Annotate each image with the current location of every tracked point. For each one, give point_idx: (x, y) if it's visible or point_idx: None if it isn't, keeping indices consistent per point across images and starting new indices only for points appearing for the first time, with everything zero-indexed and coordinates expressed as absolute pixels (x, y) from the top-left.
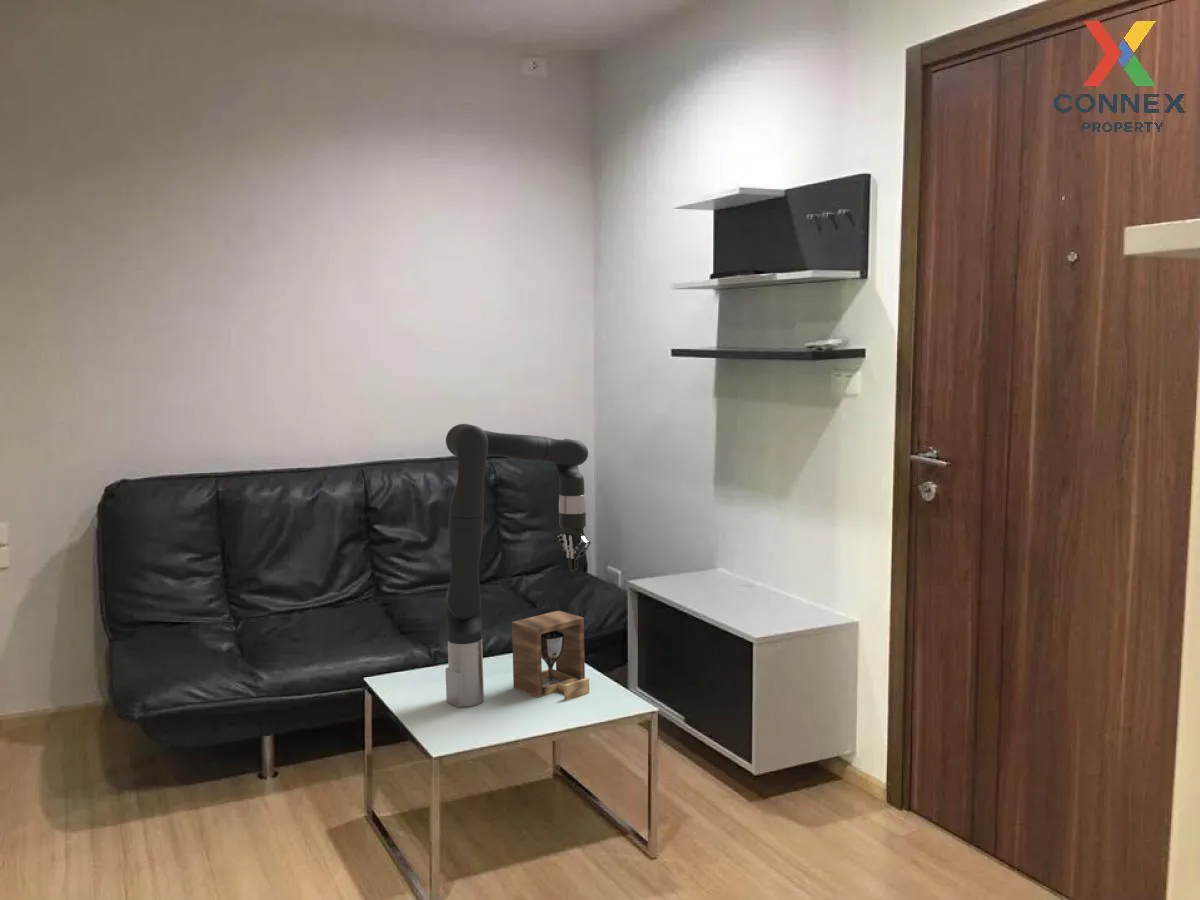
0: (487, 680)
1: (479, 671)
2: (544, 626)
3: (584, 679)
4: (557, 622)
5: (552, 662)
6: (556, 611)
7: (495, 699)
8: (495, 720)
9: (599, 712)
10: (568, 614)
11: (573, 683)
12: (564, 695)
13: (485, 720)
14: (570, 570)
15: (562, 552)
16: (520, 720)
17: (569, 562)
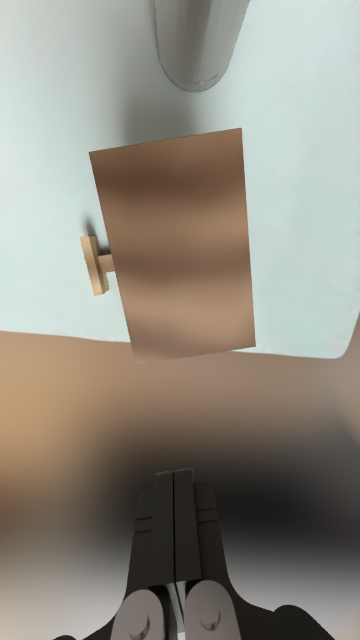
0: (277, 162)
1: (159, 2)
2: (113, 204)
3: (95, 286)
4: (134, 270)
5: None
6: (250, 334)
7: (168, 114)
8: (55, 41)
9: (4, 252)
10: (196, 346)
11: (85, 255)
12: (94, 236)
13: (66, 19)
14: (173, 471)
15: (324, 637)
16: (31, 93)
17: (186, 533)
